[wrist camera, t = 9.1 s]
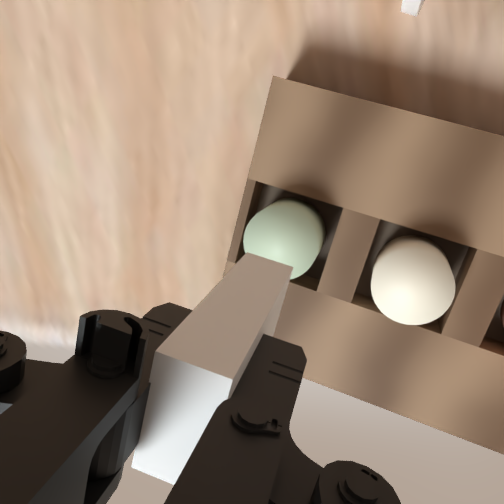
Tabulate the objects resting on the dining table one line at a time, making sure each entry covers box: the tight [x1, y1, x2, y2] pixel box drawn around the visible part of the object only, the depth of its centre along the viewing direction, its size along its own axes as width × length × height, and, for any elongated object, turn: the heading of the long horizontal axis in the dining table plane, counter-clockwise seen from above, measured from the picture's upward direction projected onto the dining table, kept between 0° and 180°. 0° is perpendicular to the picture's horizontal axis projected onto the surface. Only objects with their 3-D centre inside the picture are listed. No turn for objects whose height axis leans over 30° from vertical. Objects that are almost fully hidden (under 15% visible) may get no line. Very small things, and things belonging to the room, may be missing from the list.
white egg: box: [371, 235, 455, 325], centre depth 25 cm, size 4×4×3 cm
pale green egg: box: [243, 198, 326, 279], centre depth 27 cm, size 4×4×3 cm
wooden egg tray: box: [223, 76, 504, 454], centre depth 27 cm, size 20×16×3 cm
